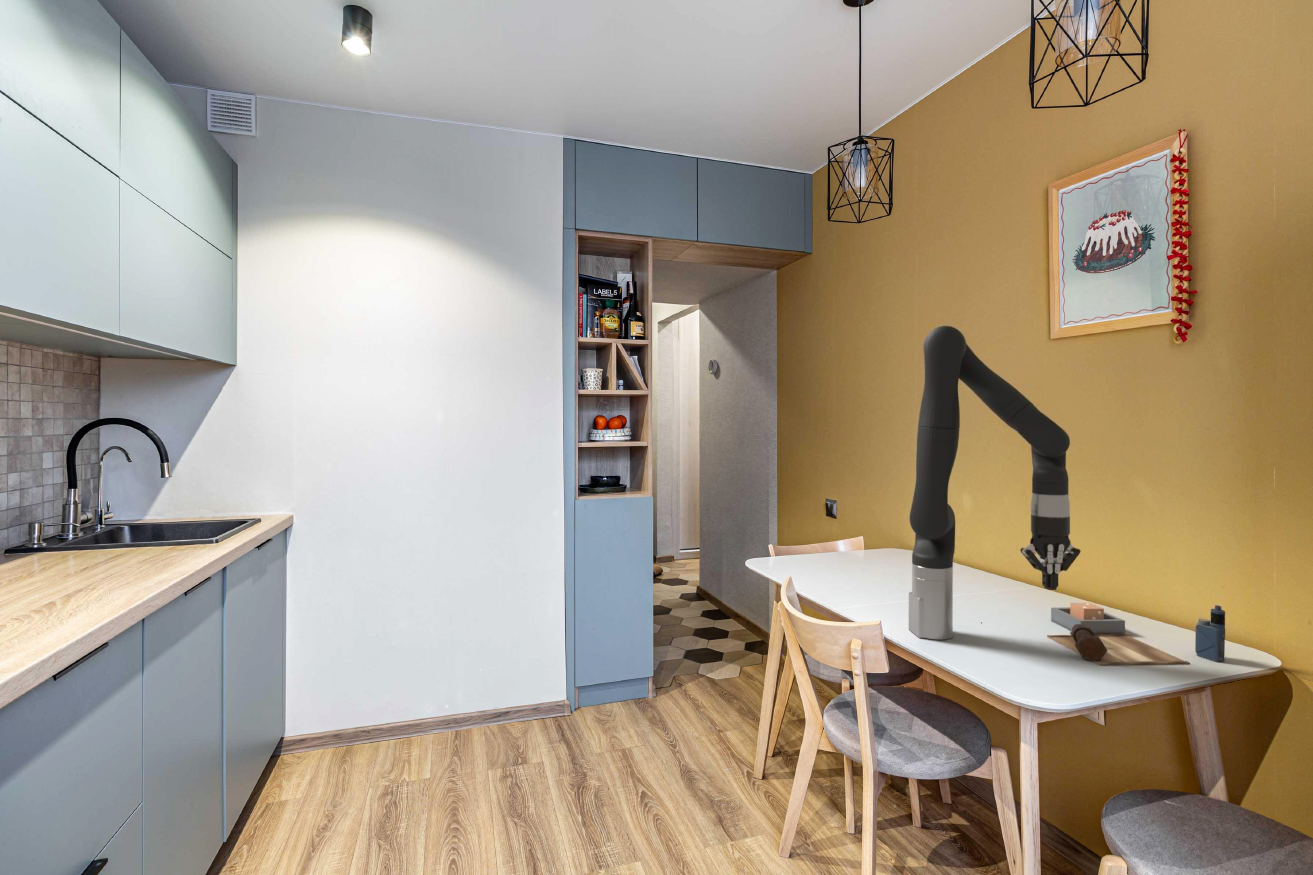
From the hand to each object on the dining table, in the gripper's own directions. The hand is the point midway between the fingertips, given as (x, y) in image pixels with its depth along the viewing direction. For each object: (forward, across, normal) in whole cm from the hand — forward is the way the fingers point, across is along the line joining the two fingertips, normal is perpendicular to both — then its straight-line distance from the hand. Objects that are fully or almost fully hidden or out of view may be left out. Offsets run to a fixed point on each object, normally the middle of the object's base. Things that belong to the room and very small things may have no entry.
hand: (1050, 589), depth 141 cm
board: (+14, +15, 0) cm, 21 cm away
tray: (+14, +19, +15) cm, 28 cm away
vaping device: (+15, +32, -6) cm, 35 cm away
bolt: (+14, +8, 0) cm, 17 cm away
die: (+11, +19, +15) cm, 27 cm away
